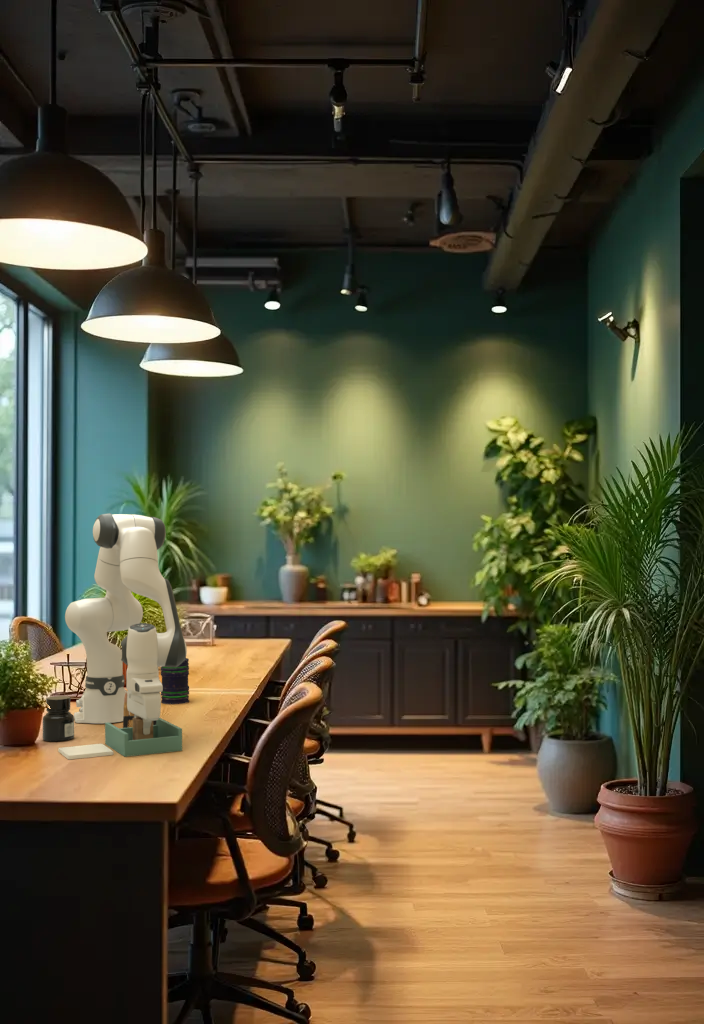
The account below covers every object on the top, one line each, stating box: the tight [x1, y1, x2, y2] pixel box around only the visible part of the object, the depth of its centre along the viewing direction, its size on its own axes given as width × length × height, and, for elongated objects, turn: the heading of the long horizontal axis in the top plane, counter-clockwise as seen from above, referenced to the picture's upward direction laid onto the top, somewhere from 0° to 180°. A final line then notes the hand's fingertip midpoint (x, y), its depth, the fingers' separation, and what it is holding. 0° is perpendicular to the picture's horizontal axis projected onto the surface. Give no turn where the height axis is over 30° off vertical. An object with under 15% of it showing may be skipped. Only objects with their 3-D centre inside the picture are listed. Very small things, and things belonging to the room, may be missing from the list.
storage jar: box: [160, 657, 190, 705], centre depth 383 cm, size 10×10×15 cm
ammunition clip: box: [122, 693, 157, 728], centre depth 326 cm, size 11×2×12 cm, turn 92°
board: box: [57, 743, 114, 760], centre depth 296 cm, size 12×12×1 cm
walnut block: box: [133, 717, 153, 740], centre depth 304 cm, size 4×4×8 cm
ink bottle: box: [42, 695, 75, 742], centre depth 317 cm, size 10×9×12 cm
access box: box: [104, 717, 183, 758], centre depth 304 cm, size 20×16×6 cm
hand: (143, 732), depth 304 cm, fingers closed on walnut block, 4 cm apart
